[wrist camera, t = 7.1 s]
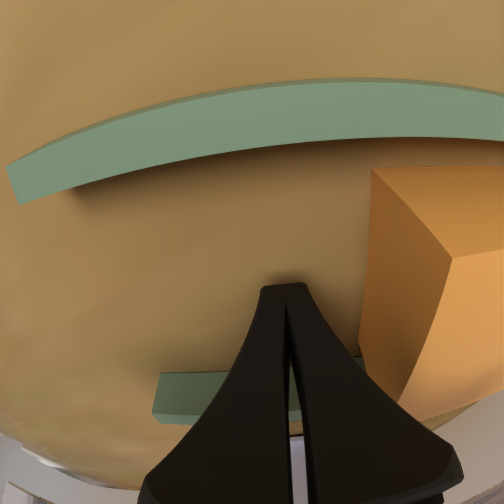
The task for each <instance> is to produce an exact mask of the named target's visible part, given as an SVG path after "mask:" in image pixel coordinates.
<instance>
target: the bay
mask: <svg viewBox="0 0 504 504" xmlns="http://www.w3.org/2000/svg"><path fill="white" fill-rule="evenodd" d="M374 137H450V138H470V139H485V140H497V141H504V94H502V93H498V92H493V91H488V90H483V89H478V88H472V87H466V86H460V85H453V84H446V83H438V82H429V81H418V80H405V79H386V78H330V79H310V80H296V81H285V82H275V83H267V84H259V85H251V86H244V87H238V88H231V89H226V90H220V91H215V92H209V93H204V94H199V95H195V96H190V97H186V98H181V99H177V100H173V101H169V102H165V103H161V104H157V105H153V106H150V107H146V108H143V109H139V110H136V111H132V112H129V113H126V114H123V115H120V116H117V117H113V118H110V119H108V120H105V121H102V122H99V123H96V124H93V125H91V126H88V127H85V128H83V129H80V130H77V131H75V132H72V133H70V134H67V135H65V136H62V137H60V138H58V139H55V140H53V141H51V142H49V143H47V144H45V145H43V146H41V147H39V148H37V149H36V150H34V151H32V152H30V153H28V154H27V155H25V156H23V157H21V158H20V159H18V160H16V161H14V162H13V163H11V164H9V165H8V166H6V167H5V168H6V171H7V173H8V176H9V179H10V182H11V185H12V187H13V190H14V193H15V195H16V198H17V200H18V203H19V205H21V204H24V203H27V202H30V201H33V200H35V199H38V198H41V197H44V196H47V195H50V194H53V193H56V192H59V191H63V190H66V189H69V188H72V187H76V186H79V185H82V184H86V183H89V182H93V181H96V180H100V179H104V178H107V177H111V176H115V175H119V174H123V173H127V172H131V171H135V170H139V169H143V168H148V167H152V166H156V165H161V164H166V163H170V162H175V161H180V160H185V159H190V158H196V157H201V156H207V155H212V154H218V153H224V152H230V151H237V150H244V149H251V148H258V147H265V146H273V145H282V144H291V143H300V142H311V141H323V140H336V139H352V138H374ZM354 360H355V361H356V362H357V363H358V364H359V365H360V367H361V368H362V369H363V370H364V371H365V372H366V373H367V371H366V367H365V363H364V360H363V356H360V357H354ZM229 372H230V371H229ZM229 372H206V373H160V377H159V382H158V386H157V391H156V395H155V400H154V404H153V409H152V414H153V415H154V417H155V418H156V419H157V420H158V421H159V422H160V423H163V424H181V425H194V424H195V423H196V422H197V420H198V419H199V418H200V417H201V415H202V414H203V412H204V411H205V410H206V408H207V407H208V405H209V404H210V402H211V401H212V399H213V398H214V396H215V395H216V393H217V392H218V390H219V389H220V387H221V385H222V384H223V382H224V380H225V379H226V377H227V375H228V374H229ZM300 420H302V416H301V410H300V405H299V399H298V394H297V389H296V384H295V379H294V374H293V368H292V366H290V384H289V422H290V421H300Z"/></svg>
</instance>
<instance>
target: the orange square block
mask: <svg viewBox="0 0 504 504" xmlns="http://www.w3.org/2000/svg"><path fill="white" fill-rule="evenodd" d="M358 342H359V346H360V349H361V353H362V356H363V360H364V363H365V367H366V371H367V374H368V375H369V377H370V378H371V379H372V380H373V381H374V382H375V383H376V384H377V385H378V386H379V387H380V388H381V389H382V390H383V391H384V392H385V393H386V394H388V395H389V396H390V397H391V398H392V399H393V400H394V401H395V402H396V403H397V404H399V405H400V406H401V407H402V408H403V409H404V410H405V411H406V412H407V413H409V414H410V415H411V416H412V417H414V418H415V419H416V420H417V421H419V422H420V421H423V420H426V419H429V418H432V417H435V416H438V415H441V414H444V413H447V412H450V411H453V410H455V409H458V408H461V407H463V406H466V405H468V404H471V403H473V402H476V401H478V400H480V399H483V398H485V397H487V396H490V395H492V394H494V393H496V392H498V391H501V390H503V389H504V167H503V166H425V167H399V168H380V169H372V192H371V219H370V236H369V250H368V262H367V273H366V282H365V291H364V300H363V307H362V315H361V322H360V329H359V335H358Z"/></svg>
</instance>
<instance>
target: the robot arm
mask: <svg viewBox="0 0 504 504" xmlns="http://www.w3.org/2000/svg"><path fill="white" fill-rule="evenodd" d="M290 358H291V363H292V368H293V374H294V379H295V384H296V389H297V394H298V399H299V405H300V410H301V416H302V423H303V435H304V436H298V437H290V433H289V384H290ZM463 478H464V474H463V470H462V467H461V463H460V461H459V459H458V457H457V454H456V452H455V450H454V448H453V446H452V445H451V444H449V443H448V442H446V441H445V440H443V439H442V438H440V437H439V436H438V435H436V434H434V433H433V432H432V431H431V430H429V429H428V428H426V427H425V426H424V425H422V424H421V423H420V422H419V421H417V420H416V419H415V418H414V417H412V416H411V415H410V414H409V413H407V412H406V411H405V410H404V409H403V408H402V407H401V406H400V405H399V404H397V403H396V402H395V401H394V400H393V399H392V398H391V397H390V396H389V395H388V394H386V393H385V392H384V391H383V390H382V389H381V388H380V387H379V386H378V385H377V384H376V383H375V382H374V381H373V380H372V379H371V378H370V377H369V375H368V374H367V373H366V372H365V371H364V370H363V369H362V368H361V367H360V365H359V364H358V363H357V362H356V361H355V360H354V358H353V357H352V356H351V355H350V353H349V352H348V351H347V350H346V348H345V347H344V346H343V344H342V343H341V342H340V340H339V339H338V338H337V336H336V335H335V334H334V332H333V331H332V329H331V328H330V326H329V325H328V323H327V322H326V320H325V319H324V317H323V316H322V314H321V312H320V311H319V309H318V307H317V306H316V304H315V302H314V300H313V298H312V296H311V294H310V292H309V290H308V288H307V285H306V284H305V283H303V282H297V283H289V284H279V285H270V286H264V287H263V288H262V289H261V291H260V297H259V301H258V305H257V309H256V312H255V315H254V318H253V321H252V323H251V326H250V329H249V331H248V334H247V336H246V339H245V341H244V343H243V346H242V348H241V350H240V352H239V354H238V356H237V358H236V360H235V362H234V364H233V366H232V368H231V370H230V372H229V374H228V375H227V377H226V379H225V380H224V382H223V384H222V385H221V387H220V389H219V390H218V392H217V393H216V395H215V396H214V398H213V399H212V401H211V402H210V404H209V405H208V407H207V408H206V410H205V411H204V412H203V414H202V415H201V417H200V418H199V419H198V420H197V422H196V423H195V424H194V425H193V427H192V428H191V429H190V430H189V431H188V433H187V434H186V435H185V436H184V437H183V438H182V440H181V441H180V442H179V443H178V444H177V445H176V447H175V448H174V449H173V450H172V451H171V452H170V453H169V454H168V455H167V456H166V457H165V458H164V459H163V460H162V461H161V462H160V463H159V464H158V465H157V466H156V467H155V468H153V469H152V470H151V471H150V472H149V473H148V474H147V475H146V476H145V478H144V481H143V484H142V487H141V490H140V493H139V496H138V502H137V504H443V503H444V498H443V493H442V492H444V491H446V490H448V489H449V488H452V487H454V486H455V485H457V484H459V483H461V482H462V480H463ZM2 504H54V503H52V502H50V501H48V500H45V499H43V498H41V497H38V496H35V495H33V494H31V493H30V492H28V491H26V490H24V489H22V488H20V487H18V486H17V485H15V484H13V483H11V482H7V484H6V488H5V492H4V496H3V500H2ZM460 504H504V481H502V482H500V483H499V484H497V485H495V486H493V487H492V488H490V489H488V490H486V491H484V492H482V493H481V494H478V495H476V496H474V497H472V498H470V499H469V500H466V501H464V502H462V503H460Z"/></svg>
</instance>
